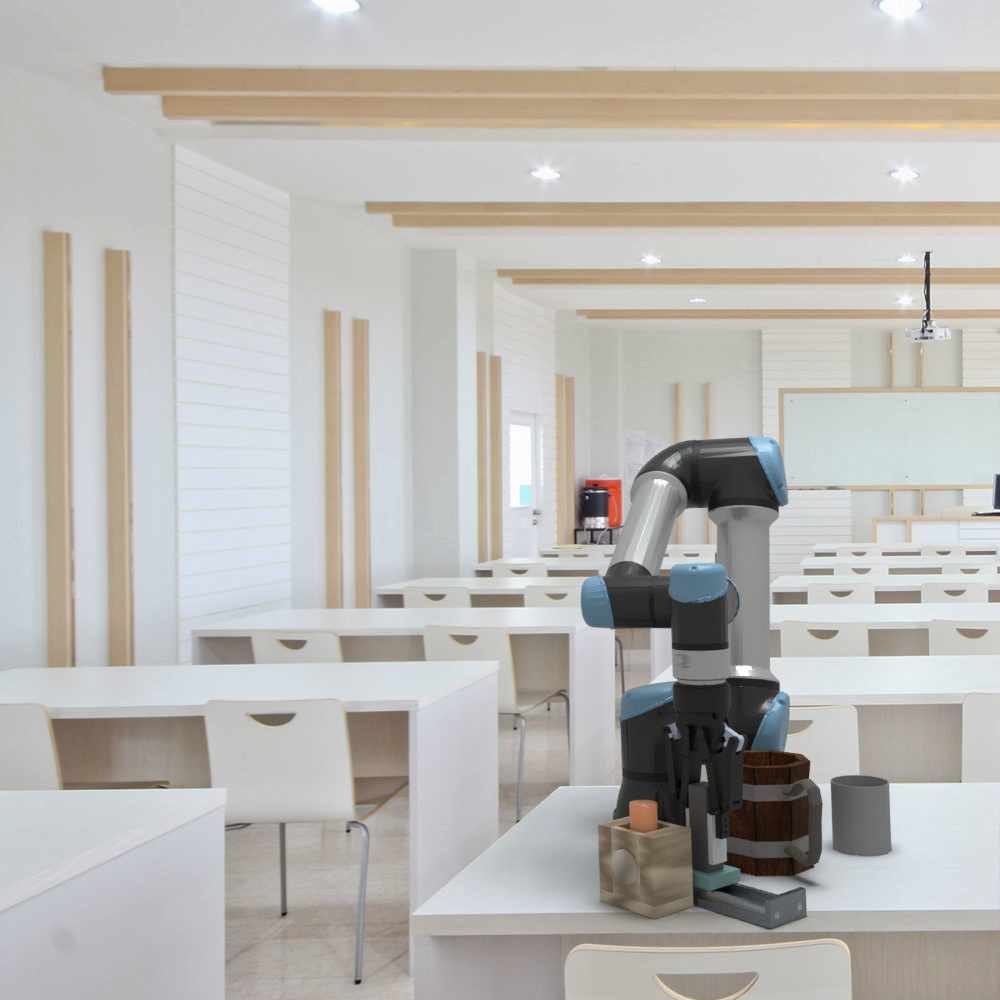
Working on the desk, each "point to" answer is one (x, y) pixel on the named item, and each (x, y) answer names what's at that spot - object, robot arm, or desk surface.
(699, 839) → the carriage
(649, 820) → the orange cylinder
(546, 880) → the desk surface
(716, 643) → the robot arm
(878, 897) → the desk surface
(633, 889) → the wooden box
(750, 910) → the rail track
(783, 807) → the mug
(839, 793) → the cup
